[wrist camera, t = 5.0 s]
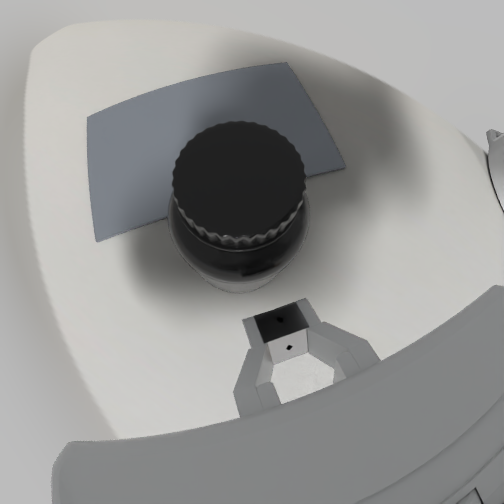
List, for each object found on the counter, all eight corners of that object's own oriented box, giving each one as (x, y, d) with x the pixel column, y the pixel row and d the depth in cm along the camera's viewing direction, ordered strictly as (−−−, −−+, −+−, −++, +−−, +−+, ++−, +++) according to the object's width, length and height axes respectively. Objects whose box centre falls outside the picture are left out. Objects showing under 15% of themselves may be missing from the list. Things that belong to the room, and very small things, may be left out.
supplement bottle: (301, 252, 21) (372, 192, 9) (232, 312, 20) (226, 322, 8) (243, 188, 22) (250, 78, 10) (175, 242, 21) (110, 170, 9)
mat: (286, 64, 25) (286, 62, 25) (344, 168, 23) (345, 166, 22) (88, 119, 23) (87, 117, 22) (97, 242, 20) (95, 241, 20)
